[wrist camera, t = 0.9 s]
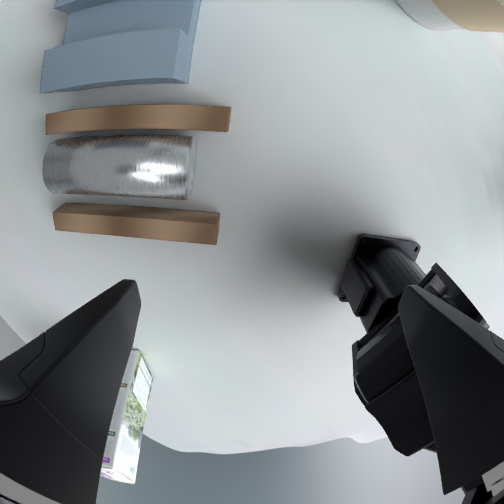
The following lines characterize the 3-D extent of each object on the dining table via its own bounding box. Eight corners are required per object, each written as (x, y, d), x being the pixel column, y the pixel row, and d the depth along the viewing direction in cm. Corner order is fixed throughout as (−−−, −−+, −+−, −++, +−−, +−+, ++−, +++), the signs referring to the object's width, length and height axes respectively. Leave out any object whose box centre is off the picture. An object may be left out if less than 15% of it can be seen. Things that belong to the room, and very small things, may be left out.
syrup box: (97, 345, 27) (58, 454, 14) (142, 349, 27) (112, 471, 15) (114, 374, 30) (87, 472, 17) (156, 378, 30) (136, 486, 17)
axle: (198, 142, 18) (189, 130, 14) (191, 198, 19) (181, 201, 15) (75, 141, 17) (46, 135, 13) (70, 192, 18) (40, 195, 14)
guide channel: (231, 107, 16) (230, 107, 14) (218, 232, 20) (216, 245, 19) (61, 111, 15) (46, 114, 13) (67, 219, 19) (55, 230, 18)
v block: (207, -28, 11) (200, -54, 7) (187, 83, 15) (173, 77, 12) (90, -12, 10) (64, -26, 6) (72, 91, 14) (39, 93, 11)
